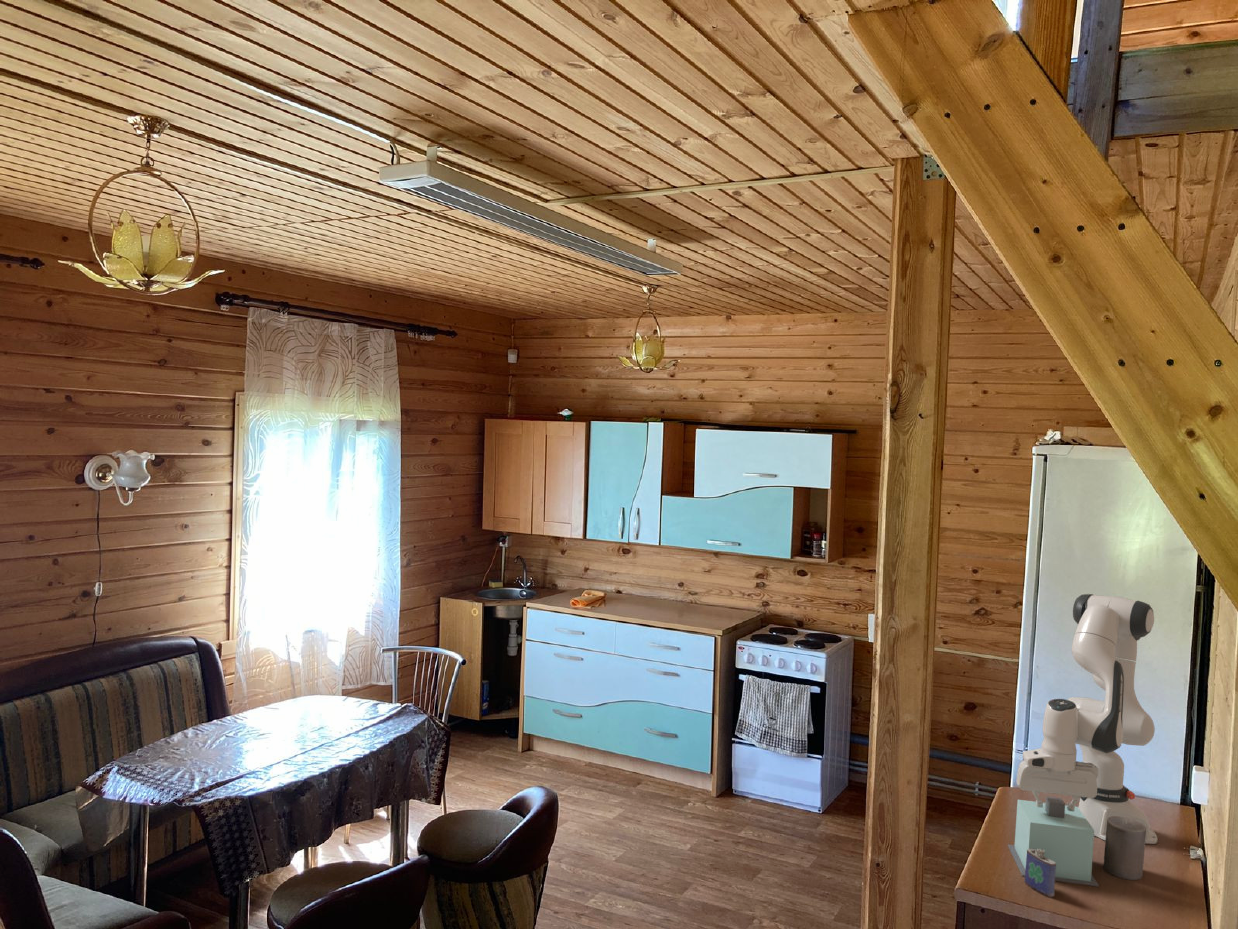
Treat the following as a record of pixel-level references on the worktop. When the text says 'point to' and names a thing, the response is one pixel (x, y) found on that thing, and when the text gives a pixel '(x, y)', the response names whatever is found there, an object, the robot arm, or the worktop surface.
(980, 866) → the worktop surface
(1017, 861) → the mat
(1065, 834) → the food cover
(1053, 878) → the flask
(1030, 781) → the robot arm
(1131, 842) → the pillar candle
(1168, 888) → the worktop surface
